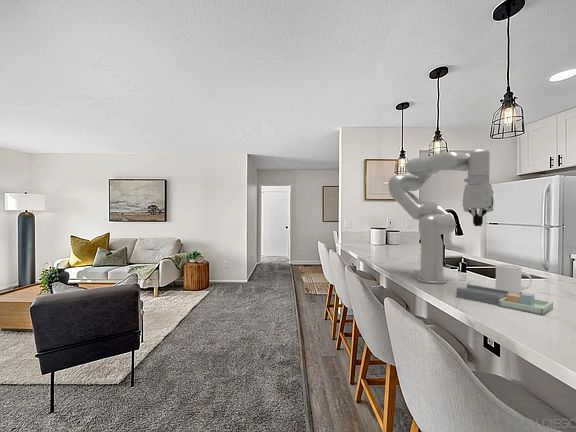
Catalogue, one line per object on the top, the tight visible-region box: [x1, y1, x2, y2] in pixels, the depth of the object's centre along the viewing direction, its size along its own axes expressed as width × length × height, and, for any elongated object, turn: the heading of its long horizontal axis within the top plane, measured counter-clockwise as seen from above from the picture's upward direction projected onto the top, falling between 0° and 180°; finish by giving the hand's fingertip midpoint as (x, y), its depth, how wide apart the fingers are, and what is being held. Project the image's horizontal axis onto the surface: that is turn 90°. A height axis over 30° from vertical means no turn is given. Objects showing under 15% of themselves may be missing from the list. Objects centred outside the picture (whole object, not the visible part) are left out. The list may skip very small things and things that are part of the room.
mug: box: [495, 263, 532, 295], centre depth 128 cm, size 9×12×11 cm
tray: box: [497, 297, 554, 316], centre depth 108 cm, size 12×12×2 cm
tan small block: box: [506, 293, 520, 304], centre depth 110 cm, size 4×4×3 cm
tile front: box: [519, 292, 535, 306], centre depth 107 cm, size 4×4×3 cm
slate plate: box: [456, 283, 508, 306], centre depth 118 cm, size 14×10×4 cm
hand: (477, 225), depth 127 cm, fingers closed
